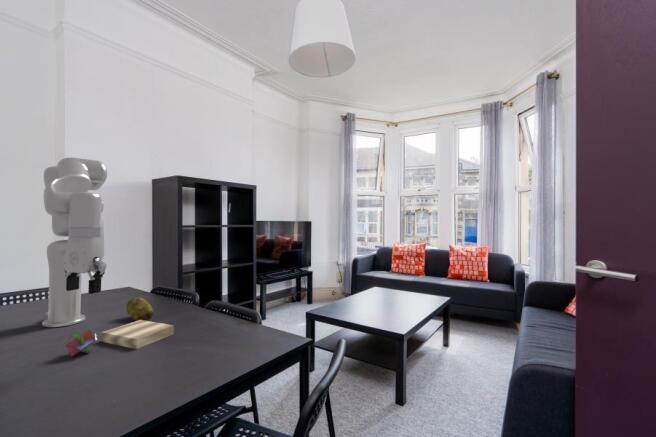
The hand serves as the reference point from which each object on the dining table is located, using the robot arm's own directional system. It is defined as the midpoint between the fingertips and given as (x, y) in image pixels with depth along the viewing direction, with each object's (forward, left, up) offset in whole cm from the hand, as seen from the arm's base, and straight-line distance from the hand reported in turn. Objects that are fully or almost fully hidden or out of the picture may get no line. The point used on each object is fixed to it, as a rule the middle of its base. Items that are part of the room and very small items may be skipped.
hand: (83, 291), depth 92 cm
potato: (-14, +30, -19) cm, 38 cm away
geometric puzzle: (0, 0, -19) cm, 19 cm away
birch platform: (+4, +15, -18) cm, 24 cm away
